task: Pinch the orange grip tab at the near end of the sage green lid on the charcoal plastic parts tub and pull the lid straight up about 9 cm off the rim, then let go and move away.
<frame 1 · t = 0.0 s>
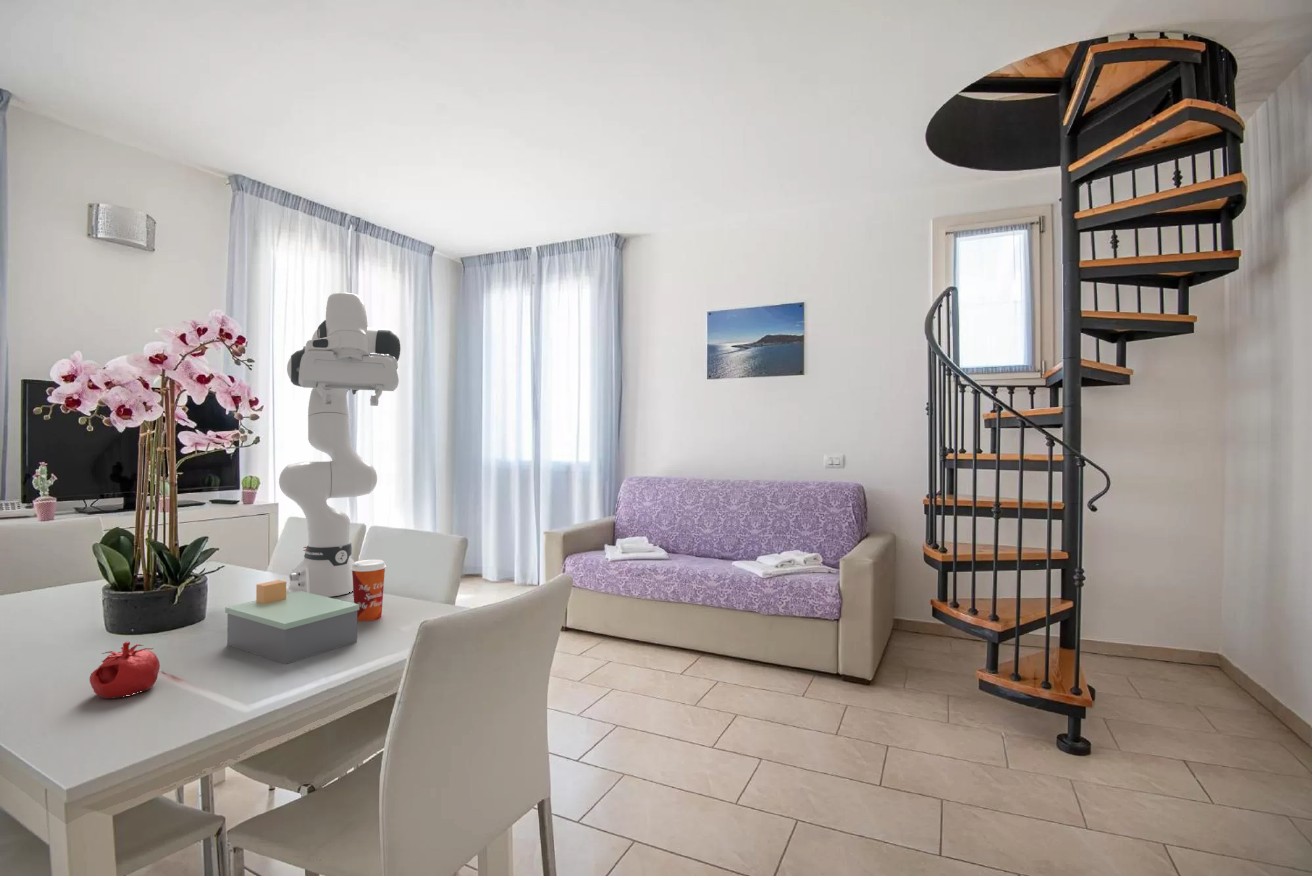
hand: (351, 403, 138), 54 cm above the table, tool tilted 30°, fingers open, 8 cm apart
coffee cup: (368, 621, 158), on the table
tub: (292, 647, 138), on the table
lid: (293, 599, 138), point 11 cm above the table, slide at 0.0 cm
red tomato: (126, 692, 115), on the table
brass part: (294, 649, 135), point 1 cm above the table, touching tub
steel part: (291, 637, 142), point 1 cm above the table, touching tub
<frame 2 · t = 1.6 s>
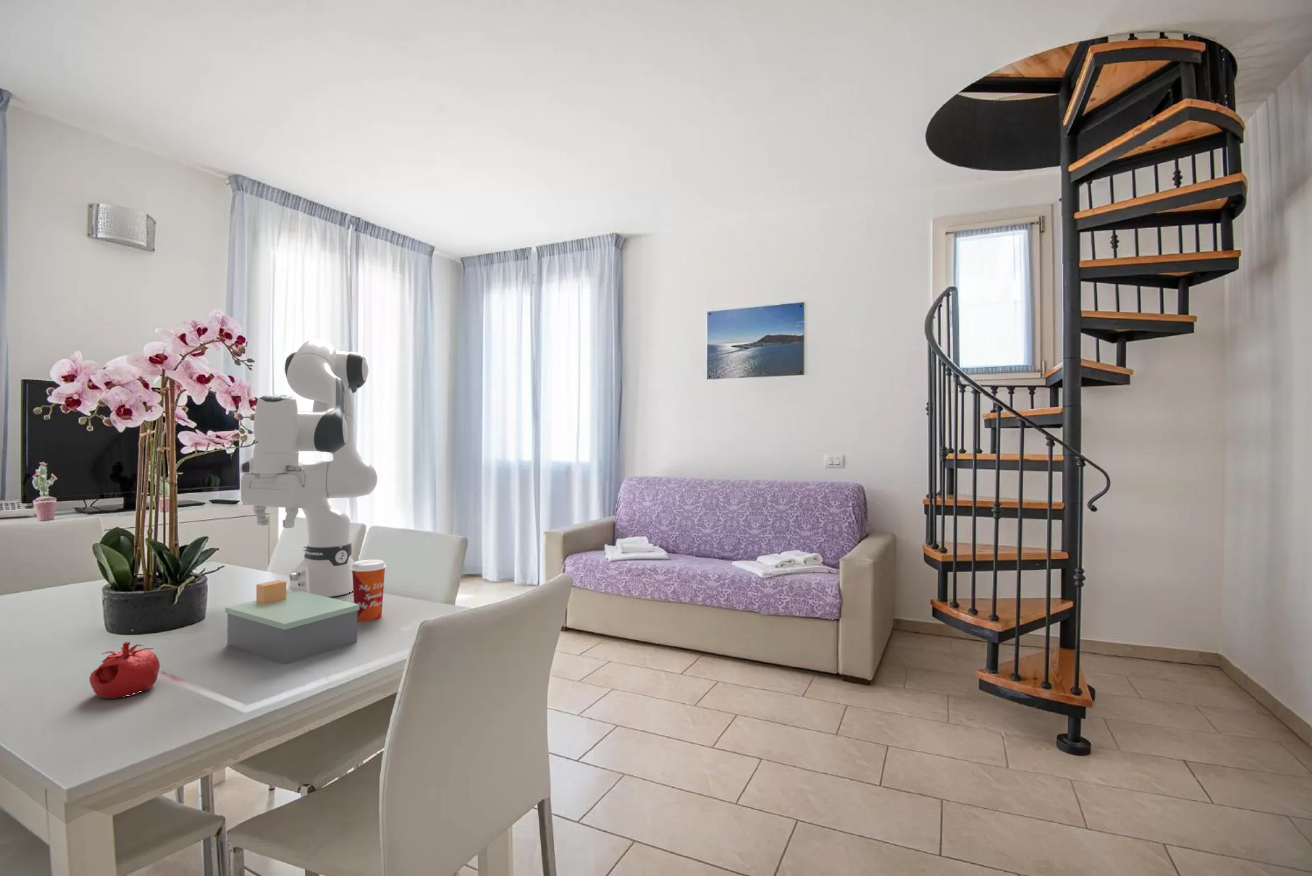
hand: (275, 526, 142), 26 cm above the table, tool pointing down, fingers open, 8 cm apart
nothing on the table moved.
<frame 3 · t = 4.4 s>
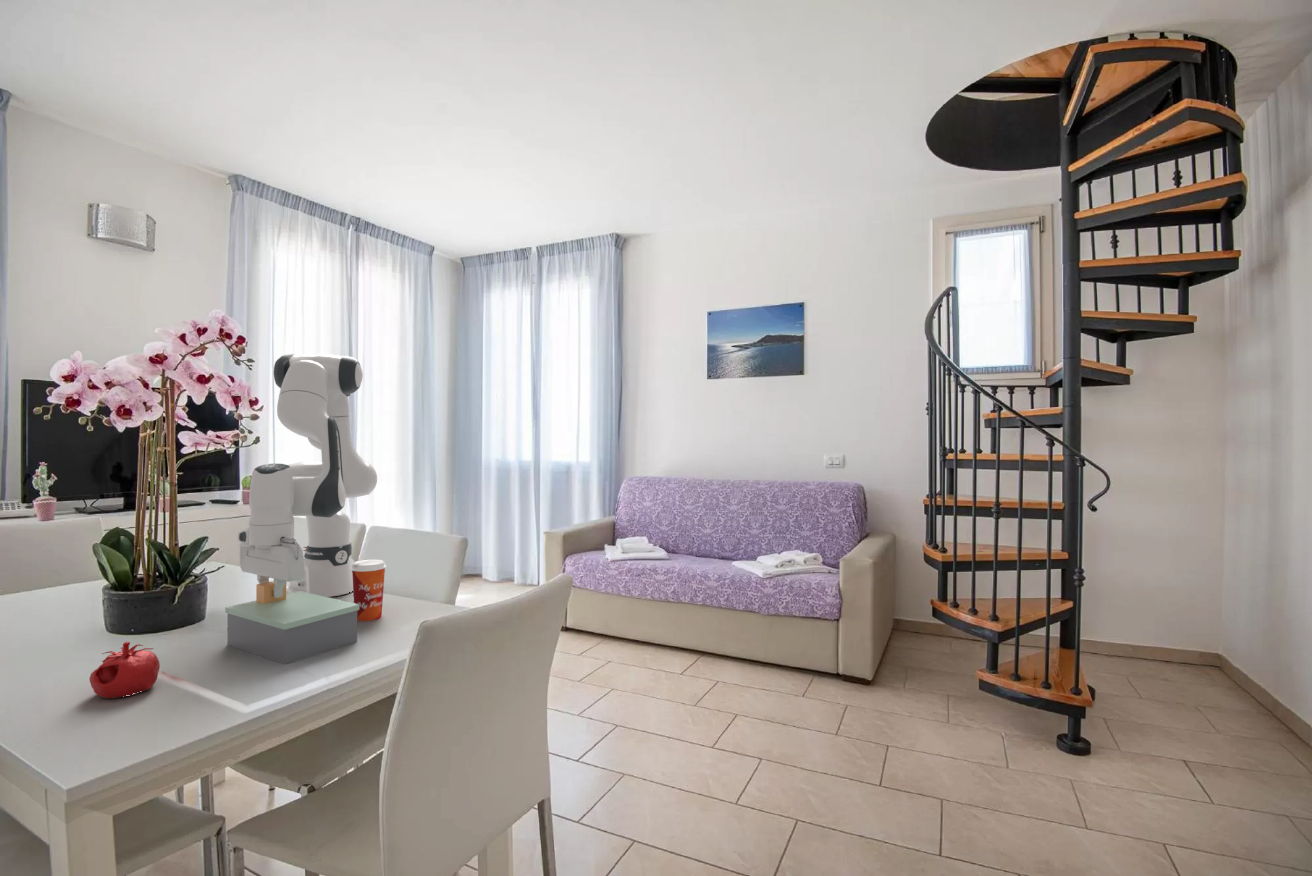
hand: (271, 595, 143), 10 cm above the table, tool pointing down, fingers closed on lid, 3 cm apart
lid: (293, 599, 138), point 11 cm above the table, slide at 0.0 cm, touching gripper
everything else where it was.
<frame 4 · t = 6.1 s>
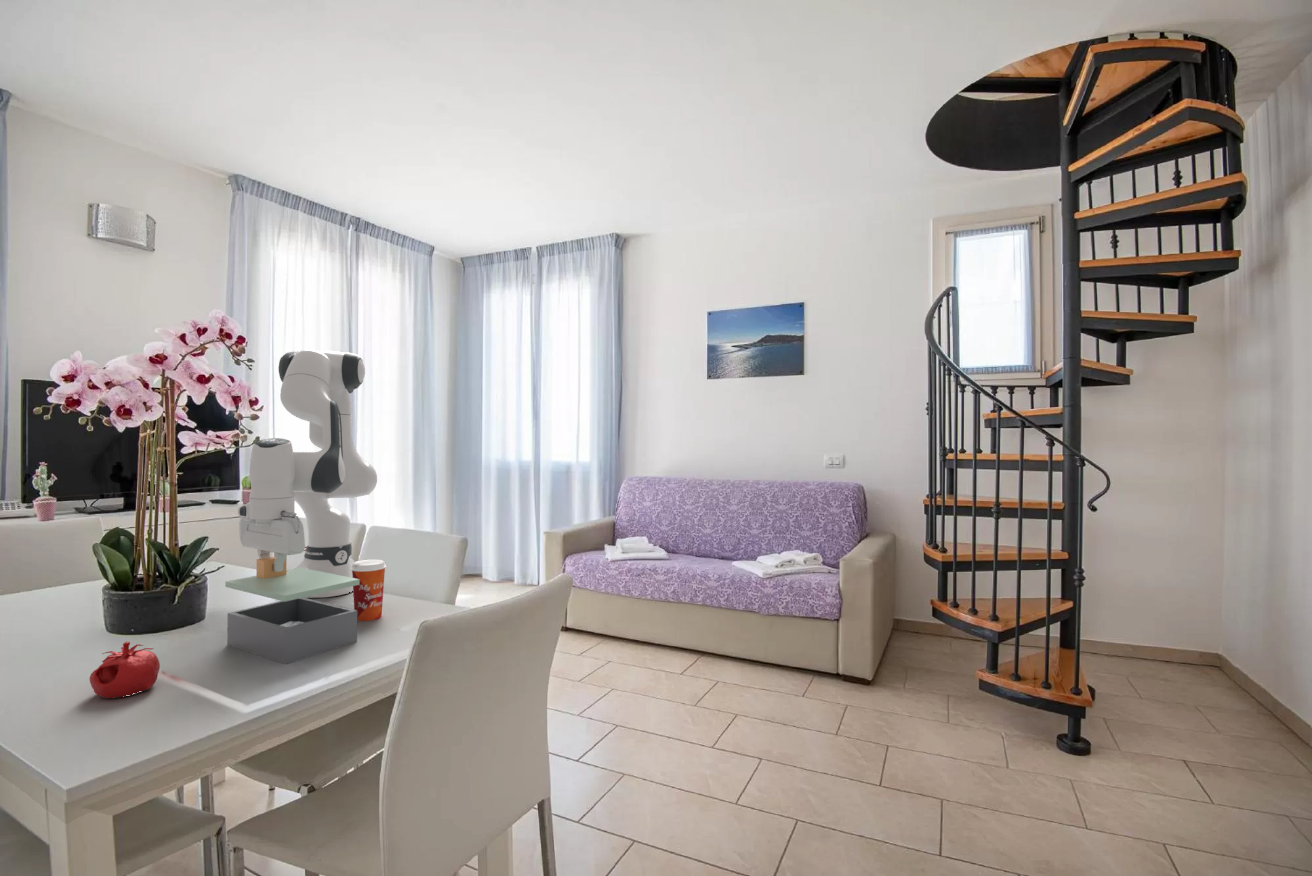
hand: (272, 570, 143), 16 cm above the table, tool pointing down, fingers closed on lid, 3 cm apart
lid: (293, 574, 138), point 16 cm above the table, slide at 5.7 cm, touching gripper
everything else where it was.
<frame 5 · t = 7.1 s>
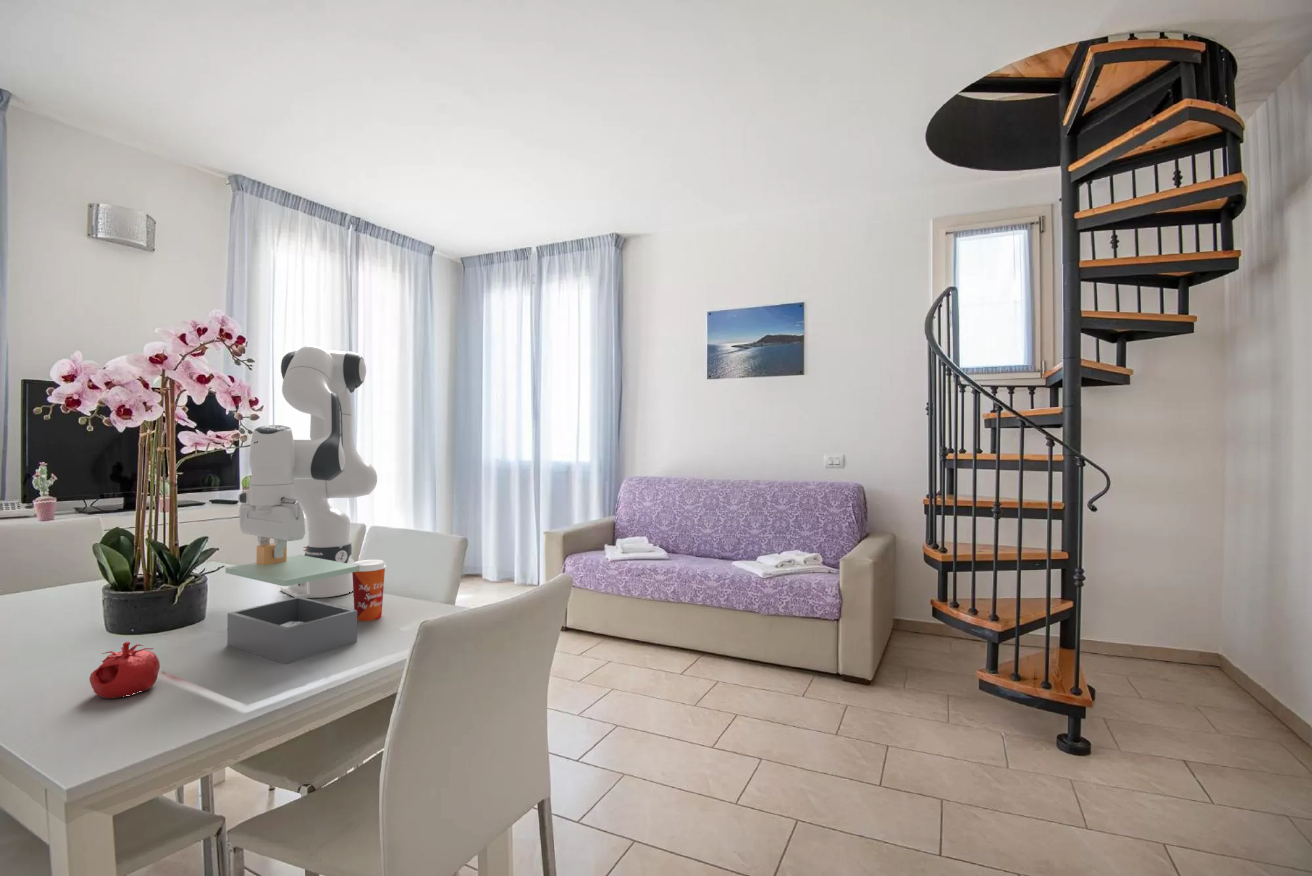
hand: (272, 556, 143), 19 cm above the table, tool pointing down, fingers closed on lid, 3 cm apart
lid: (293, 560, 138), point 19 cm above the table, slide at 8.7 cm, touching gripper
everything else where it was.
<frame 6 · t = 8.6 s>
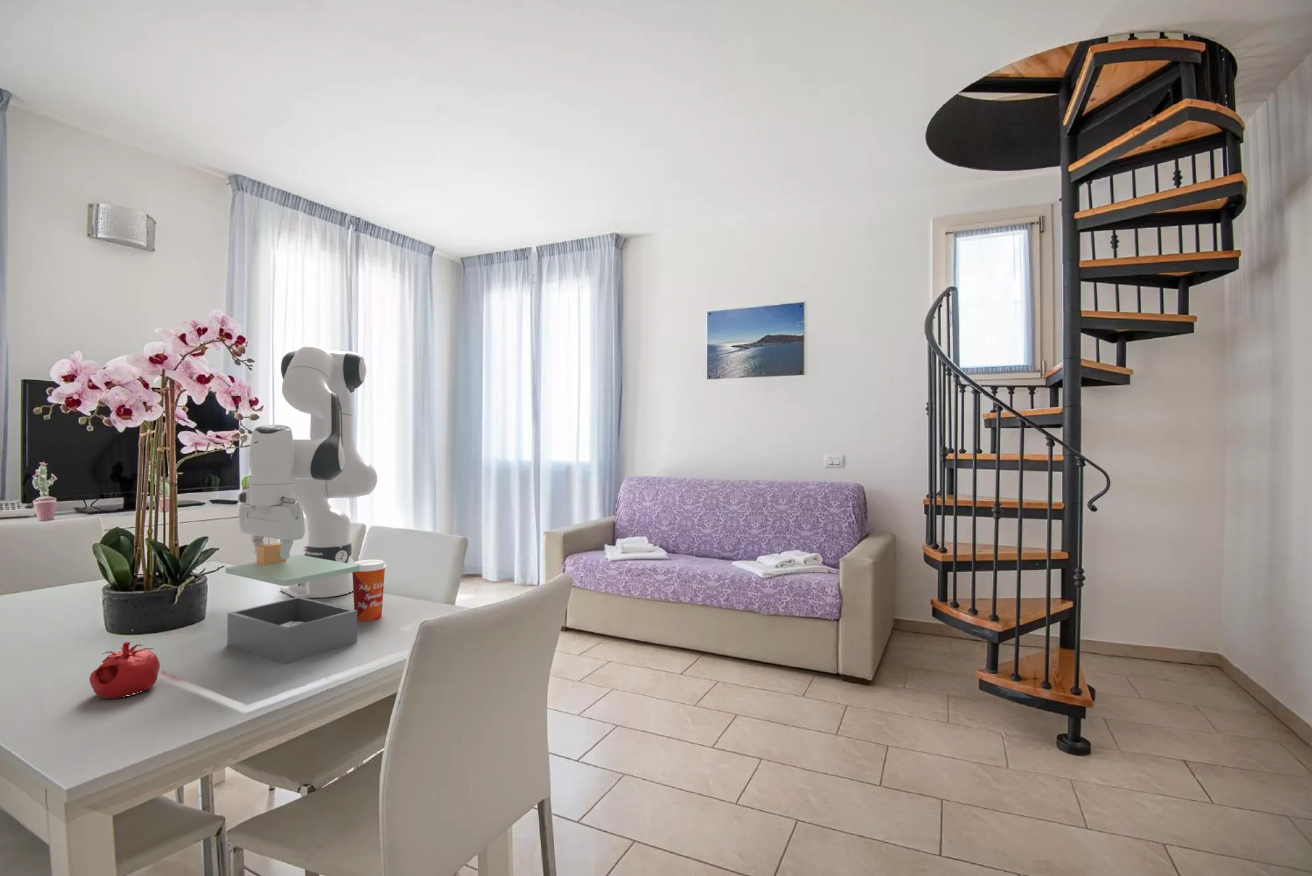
hand: (271, 556, 142), 19 cm above the table, tool pointing down, fingers open, 8 cm apart
lid: (293, 560, 138), point 19 cm above the table, slide at 8.8 cm
everything else where it was.
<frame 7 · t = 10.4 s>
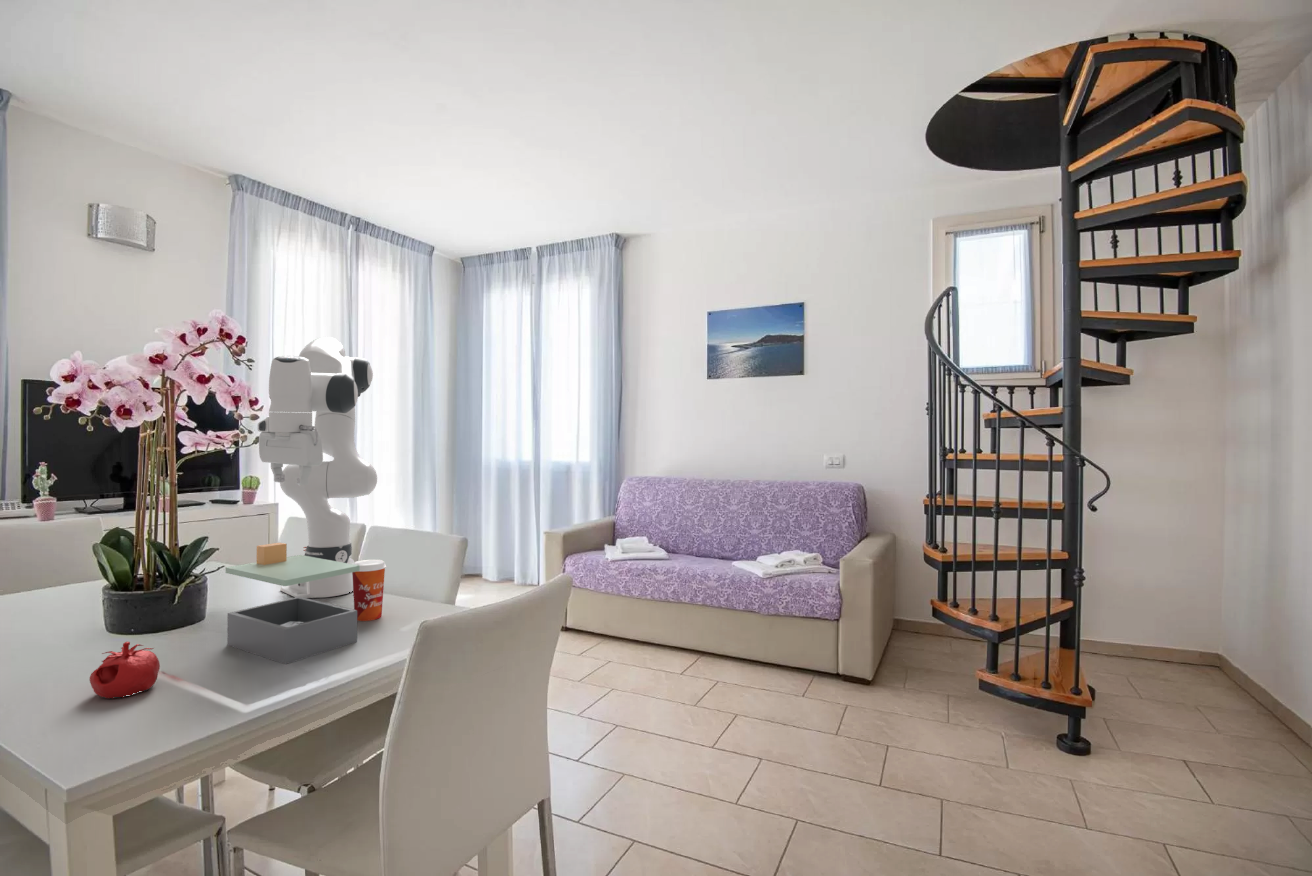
hand: (290, 483, 147), 36 cm above the table, tool pointing down, fingers open, 8 cm apart
nothing on the table moved.
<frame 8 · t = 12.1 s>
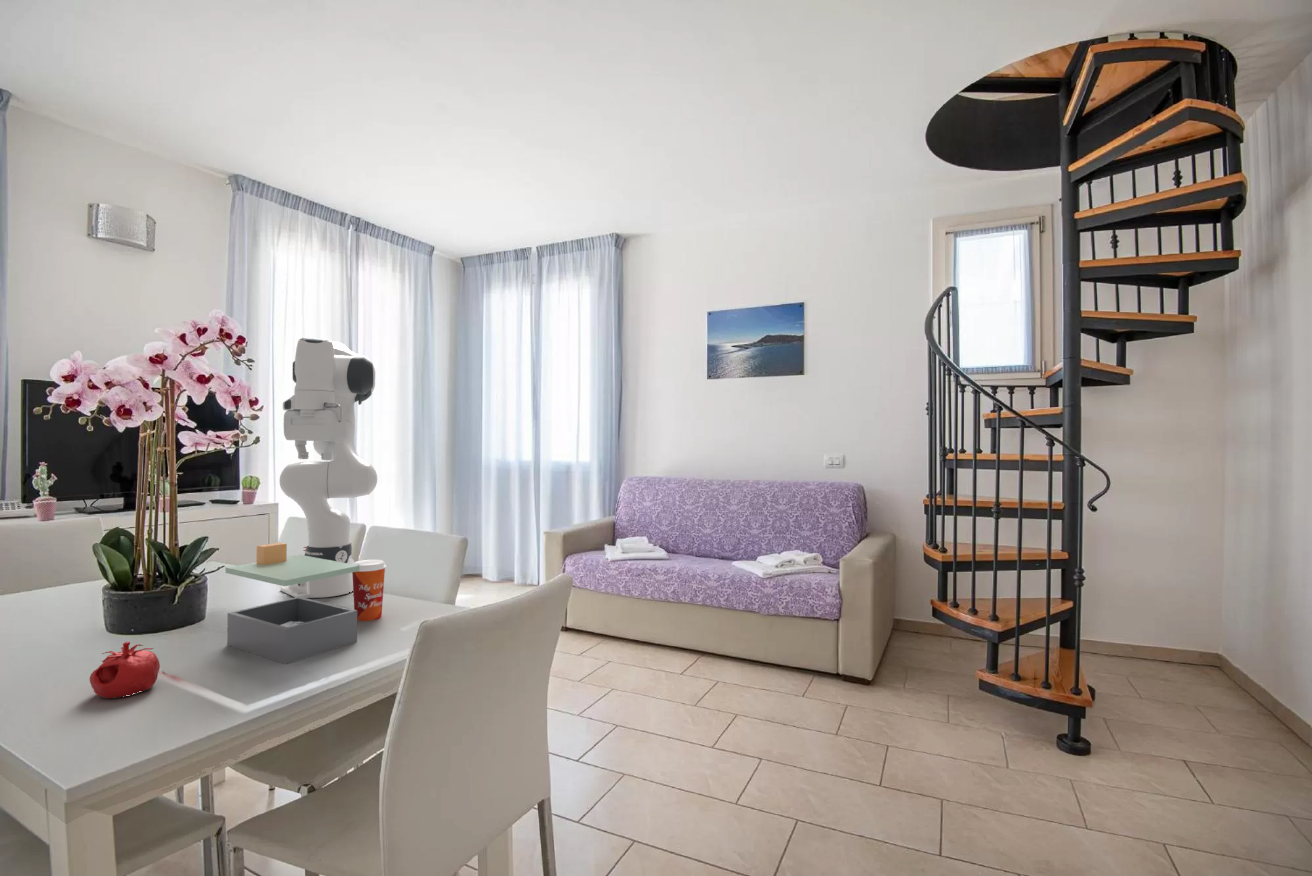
hand: (314, 459, 153), 41 cm above the table, tool pointing down, fingers open, 8 cm apart
nothing on the table moved.
at the end: lid slide at 8.8 cm; the gripper is holding nothing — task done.
